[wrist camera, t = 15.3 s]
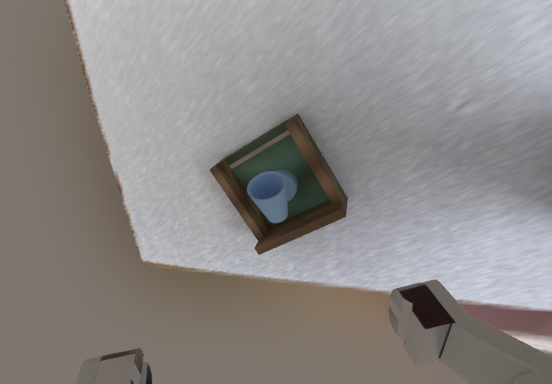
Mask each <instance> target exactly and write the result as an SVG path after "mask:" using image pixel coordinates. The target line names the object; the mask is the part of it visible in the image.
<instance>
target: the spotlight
mask: <svg viewBox="0 0 552 384" xmlns="http://www.w3.org/2000/svg"><path fill="white" fill-rule="evenodd" d="M297 190H298V180H297V178H296V176H295V175H294V174H293V173H292V172H290V171H288V170H277V171H267V172H263V173H260V174H258V175H257V176H255V177H254V178H253V179H252V180H251V181H250V182H249V184H248V186H247V193H248V195H249V196H250V197H251V199H252V200H253V201H254V202H255V204H256V205H257V206H258V207H259V209H260V210H261V211H262V213H263V214H264V215H265V216H266V218H267V219H268V220H269V221H270V222H272V223H280V222H282V221H284V220H285V219H286V218H287V216H288V206H287V201H290V200H291V199H292V198H293V197H294V196H295V194H296V192H297Z"/></svg>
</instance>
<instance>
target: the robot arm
mask: <svg viewBox="0 0 552 384" xmlns="http://www.w3.org/2000/svg"><path fill="white" fill-rule="evenodd" d="M391 298H392V299H393V302H392V303H391V304H390V305H389V311H388V312H389V318H390V322H391V324H392V326H393V328H394V330H395V332H396V334H398V335H400V336H401V337H403V338H404V339H405V340H404V347H405V349H406V350H407V352H408V354H409V355H410V357H411V359H412V360H413V362H414V363H415V365H416V364H421V363H425V362H429V361H434V360H438V359H440V361H441V362H442V363H444V364H445V365H446V366H448V367H449V368H450V369H452V370H453V371H454V372H456V373H457V374H459V375H460V376H461V377H462V378H464V379H465V380H466V381H468V382H469V383H470V384H552V357H551V356H549V355H547V354H545V353H543V352H541V351H539V350H537V349H535V348H533V347H531V346H530V345H528V344H526V343H524V342H522V341H520V340H518V339H516V338H514V337H512V336H510V335H508V334H506V333H504V332H502V331H500V330H498V329H496V328H494V327H493V326H491V325H489V324H487V323H485V322H483V321H481V320H479V319H477V318H473V319H471V317H470V316H469V315H468V314H467V313H466V312H465V311H464V309H463V308H462V307H461V306H460V305H459V304H458V302H457V301H456V300H455V299H454V298H453V297H452V295H451V294H450V293H449V292H448V291H447V290H446V289H445V287H444V286H443V285H442V284H441V283H440V282H439V281H437V280H431V281H427V282H423V283H416V284H412V285H408V286H404V287H400V288H396V289H394V290H393V291H392V293H391ZM143 356H144V354H143V352H142V350H141V349H140V348H137V349H133V350H128V351H123V352H119V353H114V354H109V355H105V356H99V357H95V358H91V359H86V360H85V361H84V362H83V364H82V365H81V367H80V370H79V373H78V377H77V380H76V383H75V384H152V373H151V370H150V366H149V364H148V363H147V362H145V361H143Z"/></svg>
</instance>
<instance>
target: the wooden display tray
mask: <svg viewBox="0 0 552 384" xmlns="http://www.w3.org/2000/svg"><path fill="white" fill-rule="evenodd" d="M277 170H288V171H290V172H292V173H293V174H294V175H295V176H296V178H297V180H298V190H297V192H296V194H295V196H294V197H293V198H292V199H291V200H290V201H287V206H288V216H287V218H286V219H285V220H284V221H282V222H280V223H272V222H270V221H269V220H268V219H267V218H266V216H265V215H264V214H263V213H262V211H261V210H260V209H259V207H258V206H257V205H256V204H255V202H254V201H253V200H252V199H251V197H250V196H249V195H248V193H247V186H248V184H249V182H250V181H251V180H252V179H253V178H254V177H255V176H257V175H258V174H260V173H263V172H267V171H277ZM210 171H211V173H212V174H213V176H214V177H215V178H216V180H217V181H218V183H219V184H220V186H221V187H222V189H223V190H224V192H225V193H226V195H227V196H228V197H229V199H230V200H231V202H232V203H233V205H234V206H235V208H236V209H237V211H238V212H239V213H240V215H241V216H242V218H243V219H244V221H245V222H246V224H247V225H248V227H249V228H250V230H251V231H252V232H253V234H254V235H255V237H256V238H257V240H258V243H257V245H256V246H255V250H256V251H257V253H258V254H259V255H260V254H262V253H264V252H267V251H269V250H271V249H273V248H276V247H278V246H280V245H283V244H285V243H287V242H289V241H292V240H294V239H296V238H299V237H301V236H303V235H305V234H308V233H310V232H312V231H315V230H317V229H319V228H321V227H324V226H326V225H328V224H331V223H333V222H335V221H337V220H340V219H342V218H344V217H346V209H347V200H348V198H347V196H346V195H345V193H344V191H343V189H342V188H341V186H340V184H339V183H338V181H337V179H336V178H335V176H334V174H333V173H332V171H331V169H330V167H329V166H328V164H327V162H326V161H325V159H324V157H323V156H322V154H321V152H320V151H319V149H318V147H317V145H316V144H315V142H314V140H313V139H312V137H311V135H310V134H309V132H308V130H307V129H306V127H305V125H304V123H303V122H302V120H301V118H300V117H299V115H298V114H296V115H295V116H293V117H292V118H290V119H288V120H287V121H285V122H283V123H282V124H280V125H279V126H277V127H275V128H274V129H272V130H270V131H269V132H267V133H266V134H264V135H262V136H261V137H259V138H257V139H256V140H254V141H253V142H251V143H249V144H248V145H246V146H244V147H243V148H241V149H240V150H238V151H236V152H235V153H233V154H231V155H230V156H228V157H227V158H225V159H223V160H222V161H220V162H219V163H218V164H216V165H215V166H214V167H212V168H211V169H210Z"/></svg>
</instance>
